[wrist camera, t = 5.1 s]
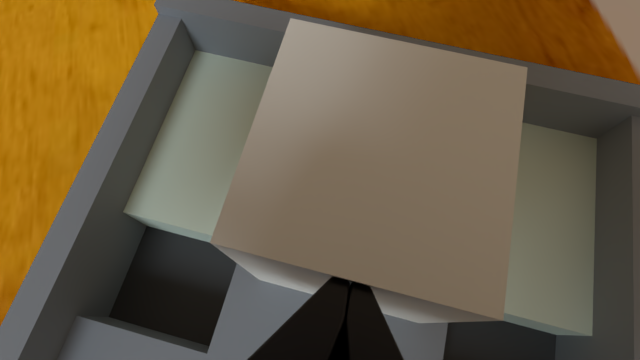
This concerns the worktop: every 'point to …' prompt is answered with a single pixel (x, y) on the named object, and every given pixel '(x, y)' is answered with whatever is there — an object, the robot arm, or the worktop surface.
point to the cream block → (381, 174)
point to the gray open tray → (281, 302)
